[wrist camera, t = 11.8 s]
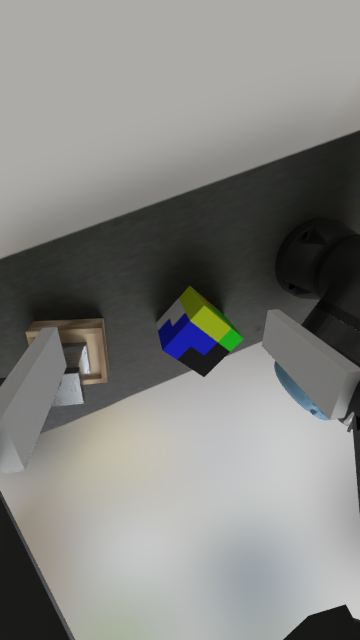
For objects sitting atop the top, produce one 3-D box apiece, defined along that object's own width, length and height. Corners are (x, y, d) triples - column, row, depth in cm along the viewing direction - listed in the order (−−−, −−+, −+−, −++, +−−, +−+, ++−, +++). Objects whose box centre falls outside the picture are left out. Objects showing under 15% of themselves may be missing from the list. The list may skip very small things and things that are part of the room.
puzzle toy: (156, 322, 48) (162, 350, 39) (189, 285, 46) (204, 305, 37) (191, 347, 52) (204, 377, 44) (223, 314, 50) (243, 338, 41)
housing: (91, 368, 46) (82, 406, 38) (57, 371, 45) (41, 410, 37) (87, 341, 44) (77, 375, 35) (51, 344, 42) (32, 379, 34)
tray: (103, 318, 45) (101, 328, 42) (109, 369, 51) (107, 382, 47) (33, 321, 43) (25, 332, 40) (47, 374, 48) (40, 388, 45)
